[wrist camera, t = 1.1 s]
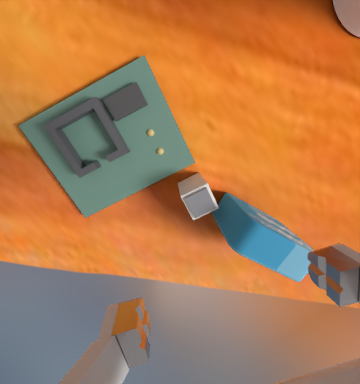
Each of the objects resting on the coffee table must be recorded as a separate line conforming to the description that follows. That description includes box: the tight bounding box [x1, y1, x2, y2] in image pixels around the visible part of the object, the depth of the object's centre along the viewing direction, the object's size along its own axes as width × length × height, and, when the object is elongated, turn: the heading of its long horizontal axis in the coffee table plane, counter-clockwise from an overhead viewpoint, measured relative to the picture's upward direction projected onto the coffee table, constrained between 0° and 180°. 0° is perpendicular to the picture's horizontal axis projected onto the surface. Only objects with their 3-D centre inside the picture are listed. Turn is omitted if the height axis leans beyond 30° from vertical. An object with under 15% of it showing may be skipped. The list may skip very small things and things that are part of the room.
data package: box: [212, 193, 314, 282], centre depth 30 cm, size 12×4×12 cm, turn 61°
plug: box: [178, 172, 219, 220], centre depth 30 cm, size 4×4×7 cm
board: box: [18, 55, 195, 218], centre depth 29 cm, size 20×16×3 cm
